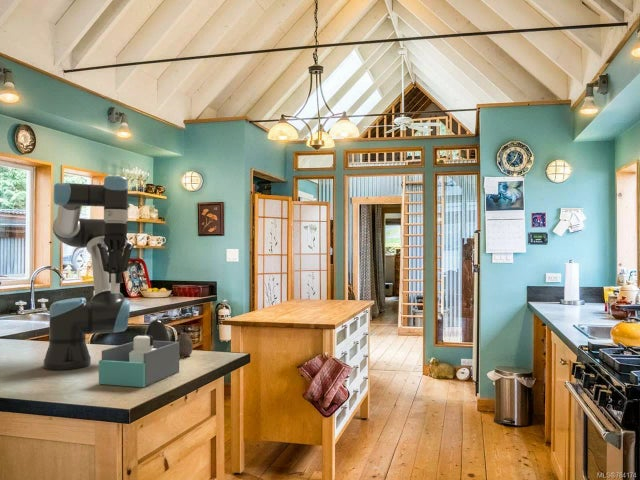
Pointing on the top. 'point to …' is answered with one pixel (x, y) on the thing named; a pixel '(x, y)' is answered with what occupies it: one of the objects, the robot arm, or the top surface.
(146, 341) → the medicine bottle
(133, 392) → the top surface
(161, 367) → the bay
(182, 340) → the vase
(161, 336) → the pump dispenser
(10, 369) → the top surface
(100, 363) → the tray
